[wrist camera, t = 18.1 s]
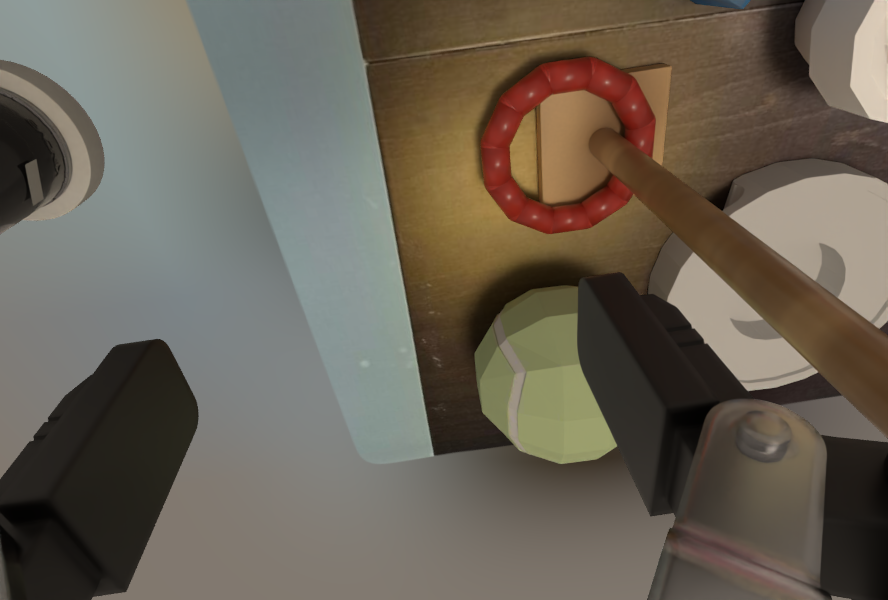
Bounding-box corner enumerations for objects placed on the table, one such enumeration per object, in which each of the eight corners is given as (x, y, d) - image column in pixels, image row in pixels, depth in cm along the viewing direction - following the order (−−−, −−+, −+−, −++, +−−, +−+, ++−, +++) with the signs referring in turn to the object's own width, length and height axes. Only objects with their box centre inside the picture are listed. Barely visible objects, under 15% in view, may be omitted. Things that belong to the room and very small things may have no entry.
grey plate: (624, 368, 57) (638, 393, 53) (683, 156, 44) (706, 172, 41) (824, 364, 58) (850, 388, 55) (935, 159, 46) (977, 174, 43)
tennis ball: (622, 248, 49) (700, 346, 36) (611, 370, 57) (671, 485, 44) (462, 268, 49) (484, 373, 36) (474, 388, 57) (495, 508, 44)
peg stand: (539, 203, 46) (850, 728, 14) (535, 82, 40) (1027, 493, 9) (652, 186, 46) (1223, 677, 14) (663, 62, 40) (1634, 407, 9)
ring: (487, 235, 45) (491, 247, 44) (472, 71, 38) (475, 76, 36) (641, 213, 45) (651, 224, 43) (655, 43, 38) (667, 47, 36)
